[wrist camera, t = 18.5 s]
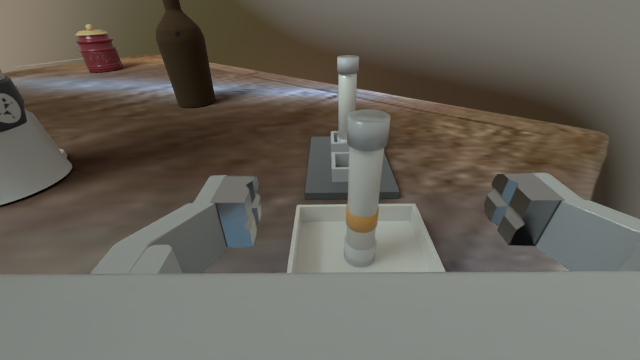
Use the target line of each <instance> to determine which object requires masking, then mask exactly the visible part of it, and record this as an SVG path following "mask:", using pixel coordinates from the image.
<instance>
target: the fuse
mask: <svg viewBox="0 0 640 360" xmlns="http://www.w3.org/2000/svg"><path fill="white" fill-rule="evenodd" d="M358 65H359V57H358V56H352V55H351V56H350V55H347V56H339V57H337V72H338V73H339V106H338V136H337V142H347V124H348V114H349V113H351V112H354V111H355V108H356V82H357V73H358V67H359V66H358Z"/></svg>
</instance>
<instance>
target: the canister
mask: <svg viewBox="0 0 640 360" xmlns="http://www.w3.org/2000/svg"><path fill="white" fill-rule="evenodd" d="M85 27H86V29H87V30H86V31H78V33H77V34H76V36H78V39H77V41H76V43H78V44H79V47H80V52H81V54H82V56H83V58H84V61H85V63H86V66H87V69H88V70H89V71H90V72H108V71H115V70H119V69H122V68H123V66H122V62H121V61H120V58H119V55H118V53H117V50H116V47H115V46H114V44H113V42H112V41H113V39H112V38H110V37H109V36H108V35H107V34H108V33H107V32H105V31H103V30H94V28H93V26H92V25H90V24H87V25H86V26H85Z"/></svg>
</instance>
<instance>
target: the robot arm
mask: <svg viewBox="0 0 640 360" xmlns="http://www.w3.org/2000/svg"><path fill="white" fill-rule="evenodd" d="M23 104H24V100H23V98H22V97H21V95H20V93H19V90H18V88H17V87H16V86H15V85H14V84H13V82H12V81H11V79H10V78H8V77H6V76H4V75H3V73H2V71H1V70H0V205H2V204H6V203H9V202H12V201H15V200H18V199H21V198H24V197H26V196H29V195H31V194H34V193H36V192H38V191H41V190H43V189H45V188H47V187H49V186H51V185H52V184H54V183H56V182H58V181H59V180H61V179H62V178H63V177H65V176H66V175H67V174H68V173H69V172H70V171H71V169H72V164H71V163H70V162H69V161H68V160H67V159H66V158H67V154H66V152H65V151H64V150H63V149H59V148H58V147H57V146H56V144H55V143H54V142H53V140H52V139H51V137H50V136H49V135H48V133H47V132H46V131H45V129H44V128H43V127H42V125H41V124H40V123H39V121H38V120H37V119H36V117H35V116H34V115H33V114H32V113H31V112H29V111H27V110H26V109H25V108H24V105H23ZM491 185H492V187H493V189H494V190H493V191H492V192H491V193H490V194H488V195H487V198H486V201H485V213H486V215H487V217H488V219H489V220H490V221H491V222H492V223H494V224H496V225H497V226H499V227H498V232H499V233H500V235H501V236H502V237H503V238H504V240H505V241H506V242H507V244H508V245H520V246H536V248H538V249H539V250H541V251H542V252H544V253H545V254H547V255H548V256H550V257H551V258H552V259H554V260H555V261H557V262H558V263H560V264H561V265H563V266H564V267H566V268H567V269H569V270H570V271H526V272H339V273H203V272H204V271H205V270H206V269H207V268H208V267H209V266H210V265H211V264H212V263H213V262H214V261H215V260H216V259H217V258H218V257H219V256H220V255H221V254H223V253H224V252H225V251H226V250H227V248H233V247H253V245H254V241H255V238H256V234H257V229H256V226H257V225H258V224H259V223H260V219H261V211H262V207H261V197H260V196H259V195H258V194H257V191H258V188H259V185H258V179H257V177H256V176H245V175H227V176H226V175H212V176H210V177H209V178H208V180H207V181H206V183H205V185H204V186H203V188H202V189H201V191H200V193H199V194H198V196H197V197H196V199H195V201H194V202H193V203H188V204H186V205H184V206H182V207H181V208H179V209H177V210H175V211H173V212H172V213H170V214H168V215H166V216H164V217H163V218H161V219H159V220H157V221H155V222H153V223H152V224H150V225H148V226H146V227H144V228H143V229H141V230H139V231H137V232H135V233H134V234H132V235H130V236H128V237H126V238H125V239H123V240H121V241H119V242H117V243H115V244H114V245H113V247H112V248H111V249H110V250H109V251H108V253H107V254H106V255H105V256H104V257H103V259H102V260H101V261H100V262H99V263H98V264H97V266H96V267H95V268H94V269H93V270H92V272H91V273H90V274H0V360H640V219H637V218H634V217H632V216H629V215H627V214H624V213H621V212H618V211H616V210H613V209H611V208H608V207H605V206H603V205H600V204H597V203H595V202H592V201H589V200H583V199H582V198H580V197H579V196H578V195H576V194H575V193H574V192H572V191H571V190H570V189H568V188H567V187H566V186H565V185H563V184H562V183H561V182H559V181H558V180H557V179H555V178H554V177H553V176H551V175H550V174H547V173H522V174H497V176H496V177H495V178H494V180H493V182H492V184H491Z"/></svg>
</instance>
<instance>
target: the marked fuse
mask: <svg viewBox="0 0 640 360" xmlns="http://www.w3.org/2000/svg"><path fill="white" fill-rule="evenodd" d="M389 126H390V115H389V114H387V113H385V112H382V111H378V110H358V111H354V112H351V113H349V114H348V124H347V144H348V145H349V176H348V204H347V206H346V225H347V234H346V235H345V238H344V258H345V260H346V262H347V263H349V264H350V265H352V266H354V267H359V268H362V267H367V266H369V265H371V264H372V263H373V262H374V259H375V251H376V238H375V231H376V227H377V223H378V214H379V207H378V202H379V193H380V184H381V174H382V165H383V155H384V148H385V147H386V146H387V144H388V135H389Z"/></svg>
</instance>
